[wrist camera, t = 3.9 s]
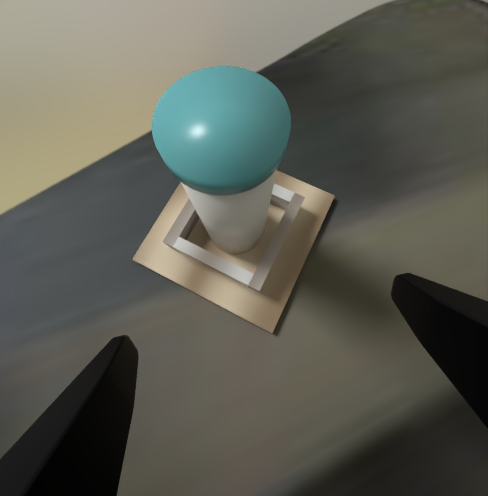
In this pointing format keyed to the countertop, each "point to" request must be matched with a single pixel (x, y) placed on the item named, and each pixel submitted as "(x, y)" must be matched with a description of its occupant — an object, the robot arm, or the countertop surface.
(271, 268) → the housing
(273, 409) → the countertop surface
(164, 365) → the countertop surface
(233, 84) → the white tall cylindrical piece
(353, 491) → the countertop surface
